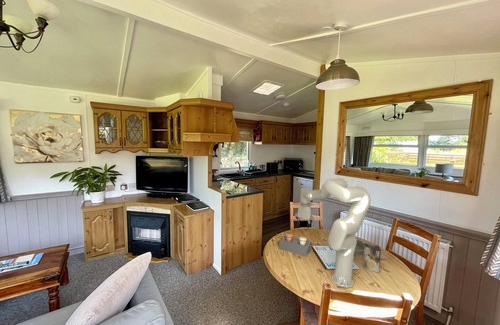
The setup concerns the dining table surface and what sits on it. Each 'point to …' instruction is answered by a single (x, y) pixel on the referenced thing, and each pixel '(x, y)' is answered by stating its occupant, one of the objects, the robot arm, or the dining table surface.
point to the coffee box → (371, 257)
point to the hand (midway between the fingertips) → (303, 226)
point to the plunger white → (302, 240)
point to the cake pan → (359, 248)
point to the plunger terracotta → (289, 237)
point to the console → (295, 246)
